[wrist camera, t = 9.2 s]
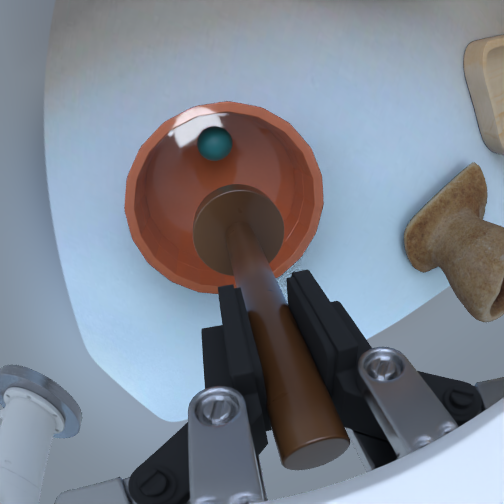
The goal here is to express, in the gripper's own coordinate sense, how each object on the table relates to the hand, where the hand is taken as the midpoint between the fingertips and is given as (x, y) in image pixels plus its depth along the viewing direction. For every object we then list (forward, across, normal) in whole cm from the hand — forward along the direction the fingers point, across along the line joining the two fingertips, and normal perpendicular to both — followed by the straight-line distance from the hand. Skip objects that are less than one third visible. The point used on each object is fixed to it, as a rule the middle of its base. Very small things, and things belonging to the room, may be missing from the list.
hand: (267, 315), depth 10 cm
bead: (+20, 0, -4) cm, 20 cm away
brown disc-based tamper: (+9, 0, 0) cm, 9 cm away
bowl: (+20, 0, 0) cm, 20 cm away
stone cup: (+20, -28, +8) cm, 35 cm away
